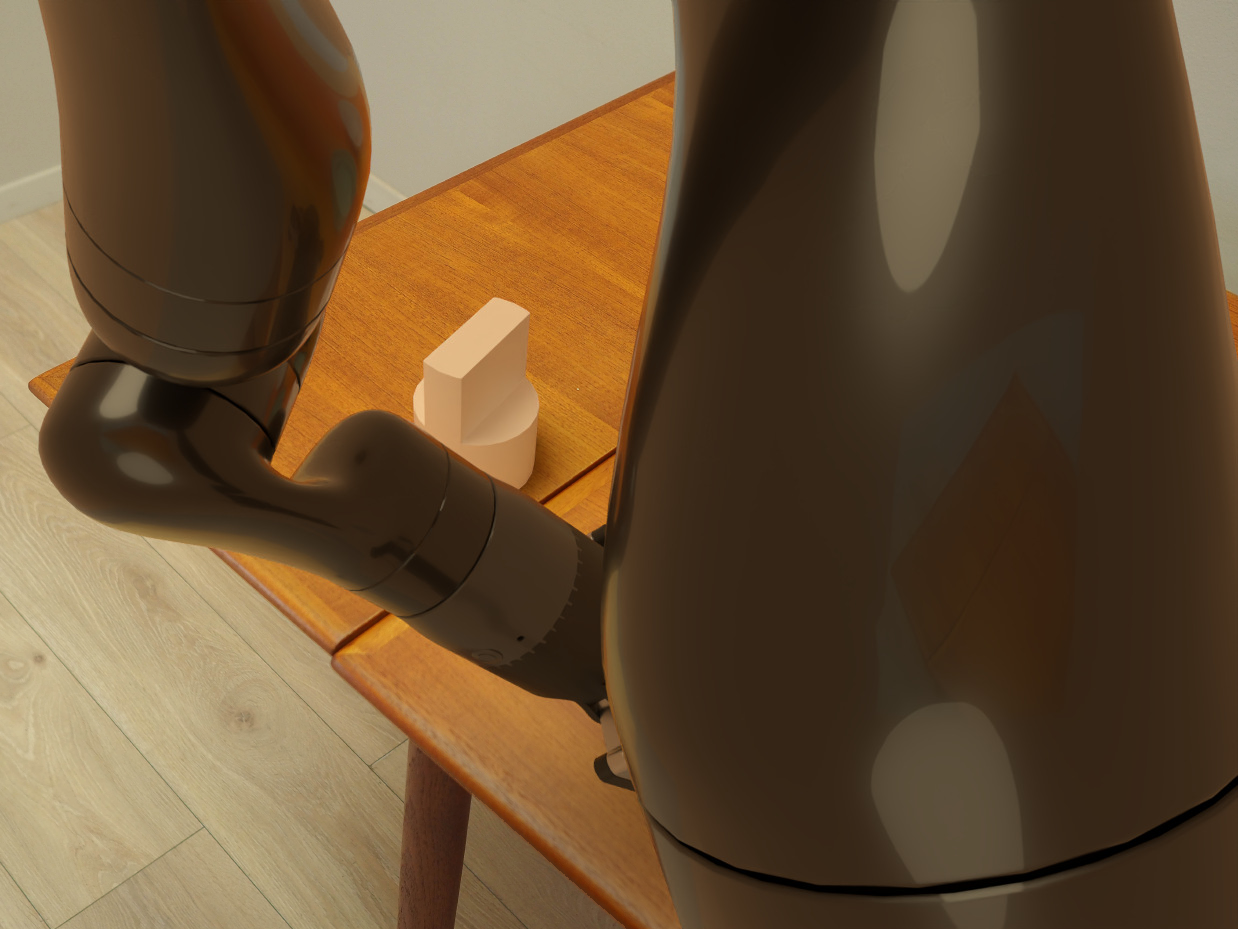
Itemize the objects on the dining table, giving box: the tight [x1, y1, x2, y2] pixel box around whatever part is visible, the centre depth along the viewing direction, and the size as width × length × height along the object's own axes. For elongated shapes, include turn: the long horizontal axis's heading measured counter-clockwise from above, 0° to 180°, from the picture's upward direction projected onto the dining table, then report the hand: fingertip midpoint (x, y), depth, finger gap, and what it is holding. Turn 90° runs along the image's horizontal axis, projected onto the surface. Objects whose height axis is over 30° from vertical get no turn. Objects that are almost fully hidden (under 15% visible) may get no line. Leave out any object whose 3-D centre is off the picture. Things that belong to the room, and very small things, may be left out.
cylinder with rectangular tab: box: [412, 296, 540, 490], centre depth 75 cm, size 9×9×12 cm
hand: (717, 710), depth 57 cm, fingers closed on pill bottle, 6 cm apart
